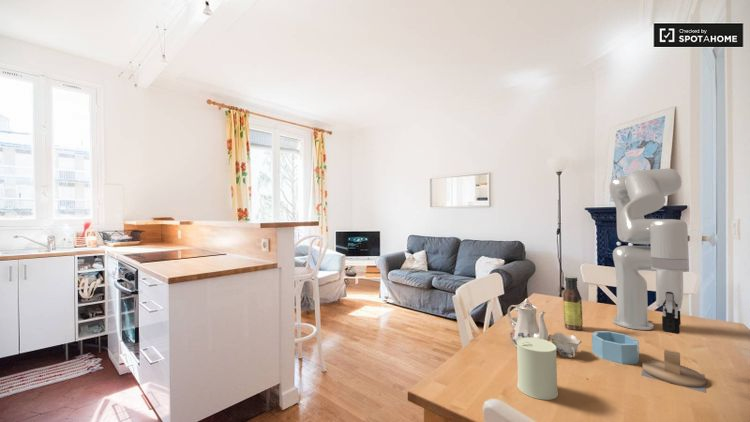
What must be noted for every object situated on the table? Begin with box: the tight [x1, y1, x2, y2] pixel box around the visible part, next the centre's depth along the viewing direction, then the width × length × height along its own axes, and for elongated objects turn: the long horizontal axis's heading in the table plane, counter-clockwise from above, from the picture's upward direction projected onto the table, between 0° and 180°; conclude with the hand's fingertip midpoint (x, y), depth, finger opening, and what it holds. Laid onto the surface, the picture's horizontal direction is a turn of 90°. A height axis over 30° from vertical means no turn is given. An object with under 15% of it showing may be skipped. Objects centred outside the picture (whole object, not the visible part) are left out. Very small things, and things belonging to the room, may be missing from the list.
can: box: [516, 337, 559, 401], centre depth 79 cm, size 9×9×12 cm
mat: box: [641, 369, 707, 393], centre depth 84 cm, size 12×12×1 cm
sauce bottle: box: [562, 275, 584, 331], centre depth 122 cm, size 7×6×20 cm
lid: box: [642, 349, 707, 388], centre depth 84 cm, size 12×12×6 cm
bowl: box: [591, 330, 640, 365], centre depth 96 cm, size 11×11×6 cm
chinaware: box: [506, 298, 582, 358], centre depth 106 cm, size 28×17×17 cm, turn 23°
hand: (671, 328), depth 84 cm, fingers open, 9 cm apart
